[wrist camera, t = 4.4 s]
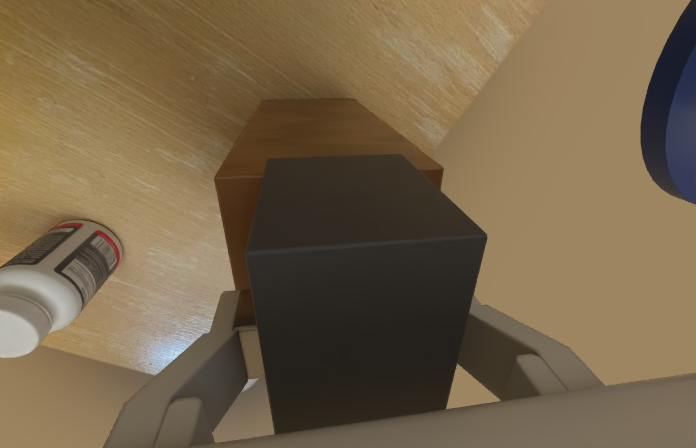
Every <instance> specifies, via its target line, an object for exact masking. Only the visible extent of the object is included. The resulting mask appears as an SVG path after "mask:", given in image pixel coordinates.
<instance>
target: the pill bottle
mask: <svg viewBox="0 0 696 448" xmlns="http://www.w3.org/2000/svg"><path fill="white" fill-rule="evenodd" d="M122 253H123V252H122V247H121V244H120V242H119V241H118V239H117V238H116V237H115V235H114V234H113V233H112V232H110V231H109V230H108V229H106V228H105V227H103V226H101V225H99V224H96V223H93V222H89V221H83V220H73V221H67V222H63V223H61V224H59V225H57V226H56V227H54V228H53V229H51V230H50V231H48V232H47V233H45V234H44V235H43V236H42V237H40V238H39V239H38V240H36V241H35V242H34V243H32V244H31V245H30V246H29V247H27V248H26V249H25V250H23V251H22V252H21V253H19V254H18V255H16V256H15V257H14V258H12V259H11V260H10V261H8V262H7V263H6V264H4V265H3V266H1V267H0V358H12V357H18V356H22V355H25V354H28V353H30V352H31V351H33V350H34V349H35V348H36V347H37V346H38V345H39V344H40V343H41V342H42V340H43V339H44V338H45V337H46V336H47V335H48V333H49V332H54V331H57V330H60V329H62V328H64V327H66V326H67V325H69V324H70V323H71V322H72V321H73V320H74V319H75V318H76V317H77V316H78V315H79V314H80V312H81V311H82V310H83V309H84V307H85V306H86V305H87V304H88V302H89V301H90V300H91V299H92V297H93V296H94V295H95V294H96V292H97V291H98V290H99V289H100V287H101V286H102V285H103V284H104V282H105V281H106V280H107V279H108V277H109V276H110V275H111V274H112V273H113V271H114V270H115V269H116V267H117V266H118V265H119V263H120V261H121V259H122Z"/></svg>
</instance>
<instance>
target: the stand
mask: <svg viewBox="0 0 696 448" xmlns="http://www.w3.org/2000/svg"><path fill="white" fill-rule="evenodd" d="M382 154H402V155H403V156H404V157H405V158H406V159H407V160H408V161H410V162H411V163H412V164H413V165H414V166H415V167H416V168H417V169H418V170H419V171H420V172H421V173H422V174H423V175H424V176H425V177H427V178H428V179H429V180H430V181H431V182H432V183H433V184H434V185H435V186H436V187H437V188H438V189H439V190H441V183H442V177H443V170H444V169H443V167H442V166H441V165H440V164H438V163H437V162H436V161H434V160H433V159H432V158H430V157H429V156H428V155H427V154H425V153H424V152H423V151H421V150H420V149H419V148H417V147H416V146H415V145H413V144H412V143H411V142H410V141H408V140H407V139H406V138H404V137H403V136H402V135H400V134H399V133H398V132H397V131H395V130H394V129H393V128H391V127H390V126H389V125H387V124H386V123H385V122H383V121H382V120H381V119H380V118H378V117H377V116H376V115H374V114H373V113H372V112H370V111H369V110H368V109H367V108H365V107H364V106H363V105H361V104H360V103H359V102H357V101H356V100H355V99H300V100H262V101H261V103H260V104H259V106H258V108H257V109H256V111H255V112H254V114H253V116H252V117H251V119H250V120H249V122H248V124H247V125H246V127H245V128H244V130H243V132H242V133H241V135H240V136H239V138H238V140H237V141H236V143H235V144H234V146H233V148H232V149H231V151H230V153H229V154H228V156H227V157H226V159H225V161H224V162H223V164H222V165H221V167H220V169H219V170H218V172H217V173H216V175H215V177H214V181H215V186H216V191H217V196H218V201H219V207H220V212H221V217H222V222H223V227H224V232H225V238H226V243H227V248H228V253H229V258H230V263H231V269H232V274H233V279H234V284H235V289H236V290H246V289H251V288H250V282H249V276H248V270H247V264H246V258H245V251H246V246H247V242H248V238H249V234H250V229H251V225H252V221H253V217H254V212H255V208H256V204H257V200H258V196H259V191H260V187H261V183H262V179H263V174H264V170H265V166H266V162H267V159H269V158H294V157H323V156H353V155H382Z"/></svg>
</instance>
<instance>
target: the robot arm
mask: <svg viewBox="0 0 696 448" xmlns="http://www.w3.org/2000/svg"><path fill="white" fill-rule="evenodd" d="M457 363H458V364H459V365H460V366H461V367H462V368H463V369H465V370H466V371H468V373H469V374H471V375H472V376H473V377H474V378H475V379H476V380H478V381H479V382H480V383H481V384H482V385H483V386H485V387H486V388H487V389H488V390H489V391H491V392H492V393H493V394H494V395H495V396H496V397H498V398H499V399H500V400H501V401H499V402H492V403H486V404H479V405H472V406H465V407H459V408H452V409H445V410H438V411H432V412H425V413H418V414H411V415H404V416H397V417H391V418H384V419H377V420H370V421H363V422H357V423H350V424H343V425H336V426H329V427H322V428H316V429H309V430H302V431H295V432H288V433H282V434H275V435H268V436H262V437H254V438H248V439H241V440H234V441H227V442H220V443H215V441H214V438H213V435H212V432H213V431H214V429H215V428H216V427H217V425H218V424H219V422H220V421H221V419H222V418H223V416H224V415H225V413H226V412H227V411H228V409H229V408H230V406H231V405H232V404H233V402H234V401H235V399H236V398H237V396H238V395H239V393H240V392H241V391H242V389H243V388H244V386H245V385H246V383H247V382H248V379H255V378H261V377H265V373H264V367H263V361H262V355H261V349H260V343H259V337H258V331H257V325H256V319H255V313H254V307H253V301H252V294H251V289H246V290H234V291H224V292H223V293H222V294H221V296H220V300H219V303H218V306H217V310H216V313H215V316H214V320H213V323H212V327H211V330H210V333H206V334H203V335H202V336H201V337H200V338H199V339H197V340H196V341H195V342H194V343H193V344H192V345H191V346H189V347H188V348H187V349H186V350H185V351H184V352H183V353H181V354H180V355H179V356H178V357H177V358H176V359H175V360H173V361H172V362H171V363H170V364H169V365H168V366H167V367H165V368H164V369H163V370H162V371H161V372H160V373H159V374H157V375H156V376H155V377H154V378H153V379H152V380H151V381H150V382H148V383H147V384H146V385H145V386H144V387H143V388H141V389H140V390H139V391H138V392H137V393H136V394H135V395H134V396H132V397H131V398H130V399H129V400H128V401H127V402H125V403H124V405H123V407H122V410H121V412H120V413H119V416H118V418H117V420H116V422H115V424H114V426H113V428H112V430H111V432H110V434H109V436H108V438H107V440H106V442H105V445H104V447H103V448H696V373H690V374H683V375H676V376H670V377H663V378H656V379H649V380H643V381H636V382H629V383H622V384H616V385H608V386H605V385H604V384H603V383H602V382H601V381H600V380H599V379H598V377H597V376H596V375H595V374H594V373H593V372H592V371H591V370H590V369H589V368H588V367H587V366H586V365H585V364H584V363H583V362H582V360H581V359H580V358H579V357H578V356H577V355H576V354H575V353H574V352H573V351H572V350H571V349H570V348H569V347H567V346H565V345H563V344H562V343H560V342H558V341H556V340H554V339H552V338H550V337H548V336H546V335H544V334H542V333H540V332H538V331H536V330H534V329H533V328H530V327H529V326H527V325H525V324H523V323H520V322H519V321H517V320H515V319H513V318H511V317H509V316H507V315H506V314H504V313H501V312H500V311H498V310H496V309H494V308H492V307H490V306H488V305H481V303H480V302H479V301H478V300H477V298H476V297H475V296H474V295H473V299H472V303H471V307H470V311H469V316H468V320H467V324H466V328H465V332H464V336H463V340H462V345H461V349H460V353H459V357H458V361H457Z"/></svg>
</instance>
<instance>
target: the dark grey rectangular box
mask: <svg viewBox="0 0 696 448" xmlns="http://www.w3.org/2000/svg"><path fill="white" fill-rule="evenodd" d="M486 241H487V234H486V233H485V232H484V231H483V230H482V229H481V228H480V227H479V226H477V224H475V223H474V222H473V221H472V220H471V219H470V218H469V217H468V216H467V215H466V214H465V213H464V212H463V211H462V210H460V208H458V207H457V206H456V205H455V204H454V203H453V202H452V201H451V200H450V199H449V198H448V197H447V196H446V195H445V194H444V193H442V192H441V191H440V190H439V189H438V188H437V187H436V186H435V185H434V184H433V183H432V182H431V181H430V180H429V179H428V178H427V177H425V176H424V175H423V174H422V173H421V172H420V171H419V170H418V169H417V168H416V167H415V166H414V165H413V164H412V163H411V162H410V161H408V160H407V159H406V158H405V157H404V156H403V155H402V154H382V155H353V156H323V157H294V158H269V159H267V162H266V166H265V170H264V174H263V179H262V183H261V187H260V191H259V196H258V200H257V204H256V208H255V212H254V217H253V221H252V225H251V229H250V234H249V238H248V242H247V246H246V251H245V258H246V264H247V270H248V276H249V282H250V288H251V294H252V301H253V307H254V313H255V319H256V325H257V331H258V337H259V343H260V349H261V355H262V361H263V367H264V373H265V378H266V385H267V390H268V396H269V403H270V408H271V414H272V421H273V426H274V433H275V434H282V433H288V432H295V431H302V430H309V429H316V428H322V427H329V426H336V425H343V424H350V423H357V422H363V421H370V420H377V419H384V418H391V417H397V416H404V415H411V414H418V413H425V412H432V411H438V410H445V409H446V406H447V402H448V398H449V394H450V390H451V386H452V382H453V378H454V373H455V369H456V365H457V361H458V357H459V353H460V349H461V345H462V340H463V336H464V332H465V328H466V324H467V320H468V316H469V311H470V307H471V303H472V299H473V295H474V291H475V287H476V282H477V278H478V274H479V270H480V266H481V262H482V257H483V254H484V249H485V245H486Z"/></svg>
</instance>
